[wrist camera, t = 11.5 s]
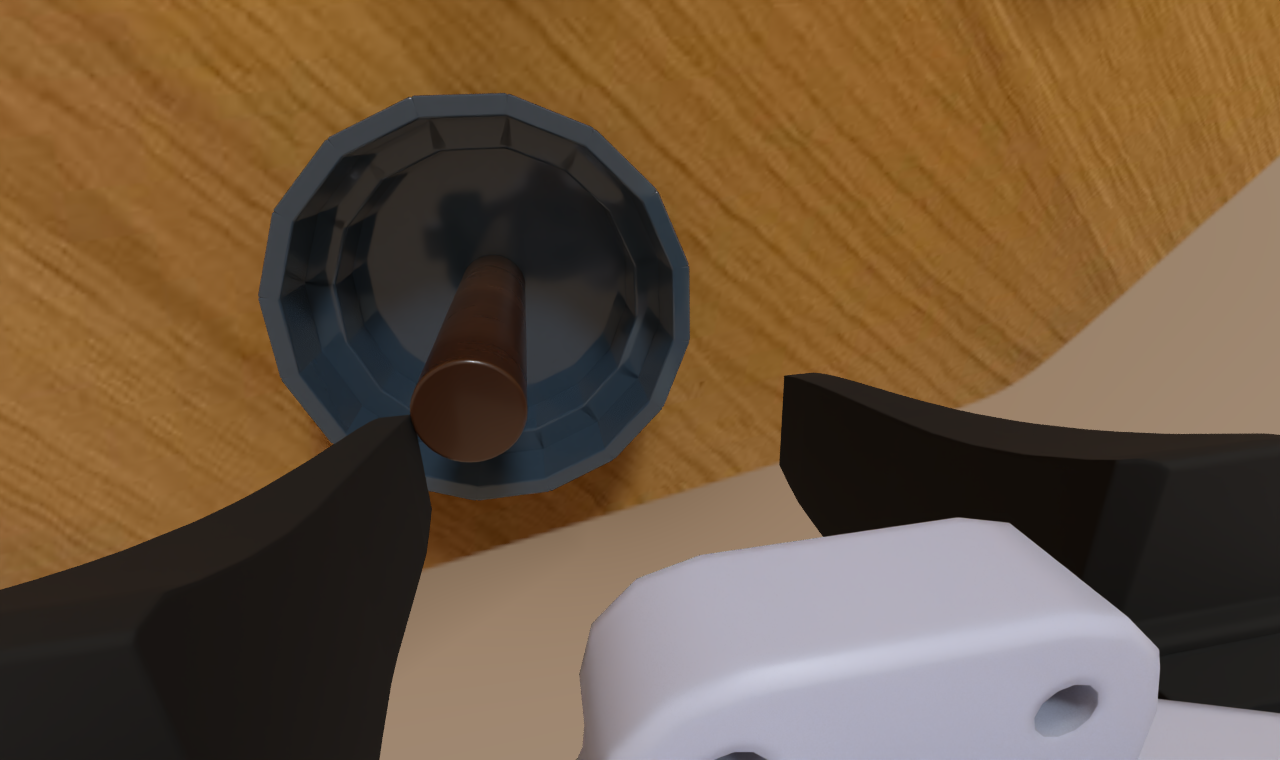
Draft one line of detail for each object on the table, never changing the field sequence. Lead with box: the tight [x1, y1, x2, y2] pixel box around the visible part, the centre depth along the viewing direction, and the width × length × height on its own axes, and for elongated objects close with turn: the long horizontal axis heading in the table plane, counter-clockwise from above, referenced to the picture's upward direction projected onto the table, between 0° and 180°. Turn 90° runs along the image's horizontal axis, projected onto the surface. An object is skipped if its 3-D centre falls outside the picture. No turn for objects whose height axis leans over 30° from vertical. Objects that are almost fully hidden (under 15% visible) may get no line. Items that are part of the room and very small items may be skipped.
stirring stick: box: [410, 255, 528, 462], centre depth 15 cm, size 2×2×10 cm
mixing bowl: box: [258, 93, 690, 500], centre depth 18 cm, size 11×11×4 cm
